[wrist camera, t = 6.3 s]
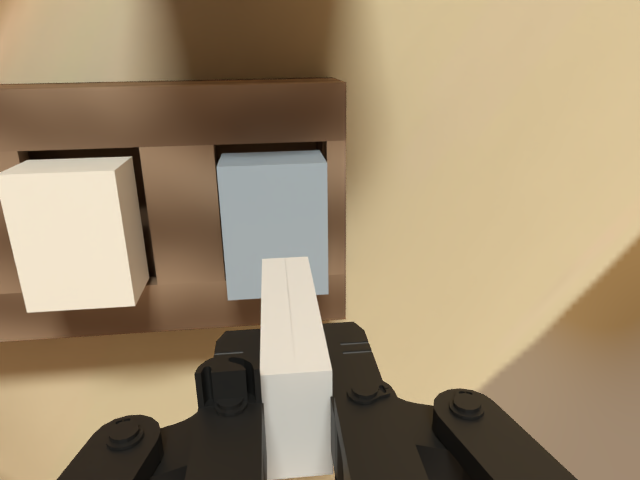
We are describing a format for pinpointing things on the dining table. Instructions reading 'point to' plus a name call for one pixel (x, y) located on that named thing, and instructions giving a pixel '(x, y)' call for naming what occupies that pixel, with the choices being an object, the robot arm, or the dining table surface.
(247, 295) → the slate key
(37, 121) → the key console
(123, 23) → the dining table surface
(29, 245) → the ivory key
